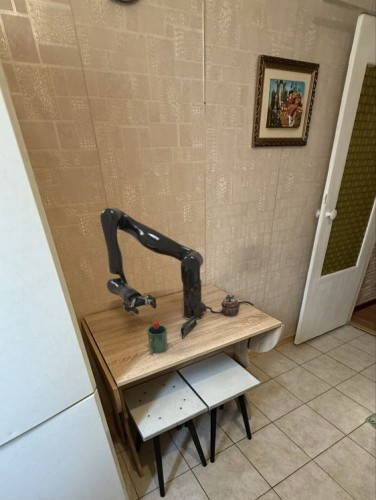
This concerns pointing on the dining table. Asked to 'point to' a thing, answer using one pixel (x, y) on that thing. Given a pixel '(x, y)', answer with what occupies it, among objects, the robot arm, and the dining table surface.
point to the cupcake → (230, 306)
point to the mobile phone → (188, 325)
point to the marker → (156, 327)
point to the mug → (157, 339)
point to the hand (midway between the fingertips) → (146, 309)
